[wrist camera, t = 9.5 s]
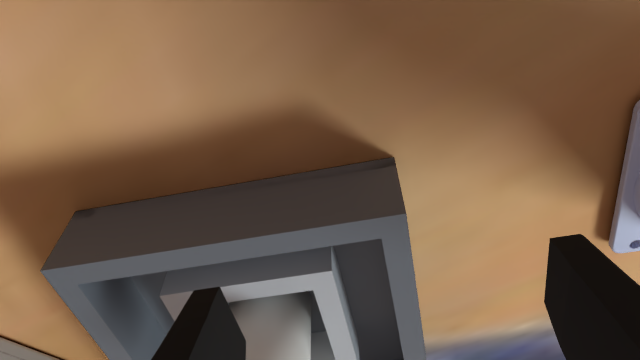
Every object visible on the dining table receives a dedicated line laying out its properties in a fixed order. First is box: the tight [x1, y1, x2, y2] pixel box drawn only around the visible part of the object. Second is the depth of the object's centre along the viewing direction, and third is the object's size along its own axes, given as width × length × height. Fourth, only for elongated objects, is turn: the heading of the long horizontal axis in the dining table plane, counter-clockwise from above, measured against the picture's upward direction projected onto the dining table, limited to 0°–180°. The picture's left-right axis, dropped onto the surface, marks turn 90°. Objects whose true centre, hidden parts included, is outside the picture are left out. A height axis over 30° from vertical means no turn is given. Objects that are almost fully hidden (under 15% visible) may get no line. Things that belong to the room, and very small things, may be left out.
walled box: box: [41, 157, 426, 360], centre depth 24 cm, size 14×14×4 cm
